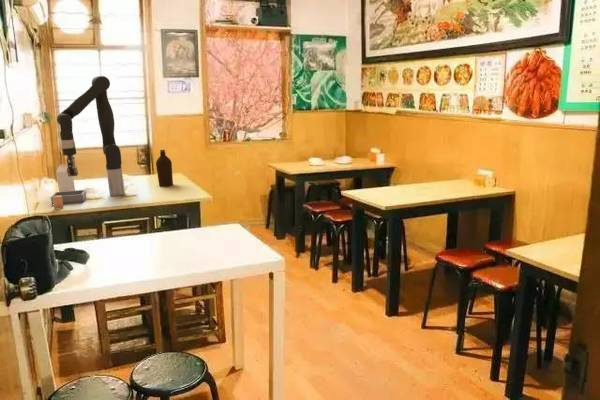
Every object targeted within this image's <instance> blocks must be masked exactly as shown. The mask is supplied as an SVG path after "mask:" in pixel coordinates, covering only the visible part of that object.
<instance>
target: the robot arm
mask: <svg viewBox="0 0 600 400" xmlns="http://www.w3.org/2000/svg"><path fill="white" fill-rule="evenodd" d="M110 85H111V82H110V79H109V78H108V77H107V76H106V75H97V76H94V77H93V78H92V80H91V86H90V87H89V88H88V89H87V90H86V91H85V92H84V93H82V94H81V95H79V96H78V97H77V98H76V99H75V100H74V101H72V103H70V105H69V106H67V107H66V108H65V109H64V110H63V111H61V112H60V113H59V114H58V115H57V117H56V122H57V124H59V126H60V131H59V136H60V143H61V144H60V145H61V149H62V151H61V152H62V155H63V157H64V156H66V157H67V158H66V163H67V164H66V165H68V169H70V175H74V168H73V167H76V159H75V155H77V147H76V142H75V140H74V139H75V138H74V132H73V121H72V120H73V119H74V118H75V117H76V116H79V115H80V114H81V113H82V112H83V111H84V110H85V109H86V107H88V106H89V105H90V104H91V103H92V101H94V100H95V104H96V105H95V106H96V113H97V114H96V115H97V120H98V124H99V125H98V126H99V129H100V133H101V137H102V152H103V154H104V156H105V162H106V165H105V169H106V176H107V184H108V190H109V191H108V192H109V196H112V197H117V196H118V197H119V196H123V195H125V194H126V190H125V182H124V177H123V169H122V153H121V148H120V147H119V145H117V143H116V139H115V118H114V112H113V108H112V106H111V104H110V101H109V98H108V97H109V96H108V89H109V88H110Z"/></svg>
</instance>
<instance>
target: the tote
mask: <svg viewBox="0 0 600 400" xmlns="http://www.w3.org/2000/svg"><path fill="white" fill-rule="evenodd" d="M86 193H87V189H78V190H76V189H75V191H64V192H59V191H55V192H54V193H53V194H52V195H51V197H50V199H51V200H50V201H51V205H52V204H54V203H53V196H58V195H61V196H62V200H63V205H68V204H69V205H70V204H79V203H85V201H86V200H87V198H86Z"/></svg>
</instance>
